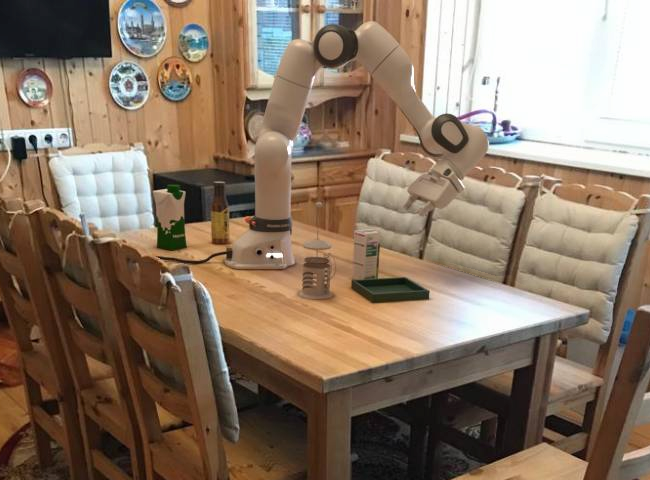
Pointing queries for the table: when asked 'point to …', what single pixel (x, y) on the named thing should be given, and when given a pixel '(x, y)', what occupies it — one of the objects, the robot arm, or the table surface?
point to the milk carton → (170, 217)
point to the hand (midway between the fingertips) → (412, 211)
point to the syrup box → (366, 254)
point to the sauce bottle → (219, 215)
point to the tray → (389, 289)
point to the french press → (317, 269)
